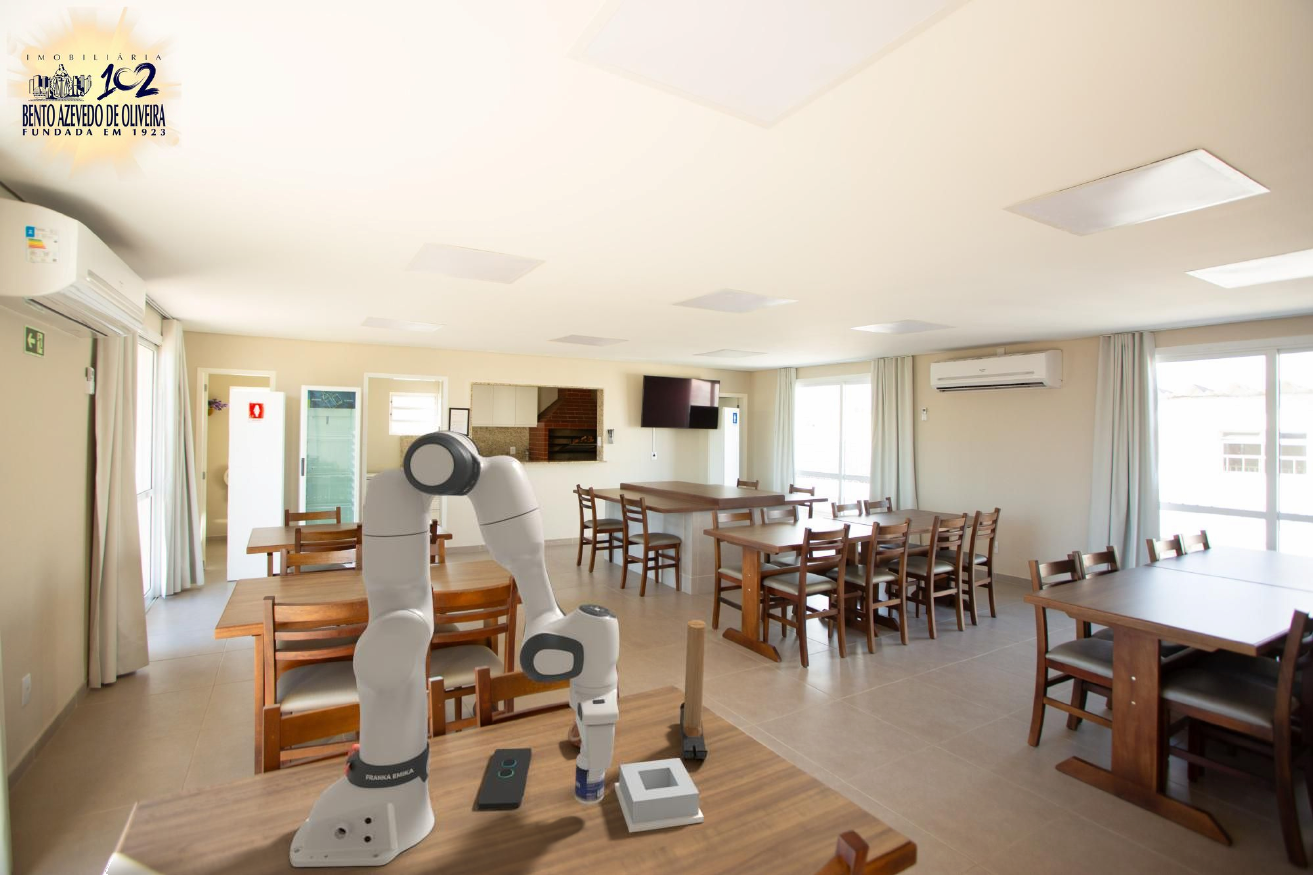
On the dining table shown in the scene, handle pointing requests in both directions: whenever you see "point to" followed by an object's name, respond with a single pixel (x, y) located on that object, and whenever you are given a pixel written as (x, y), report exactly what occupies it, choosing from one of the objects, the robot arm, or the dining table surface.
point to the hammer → (693, 693)
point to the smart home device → (505, 779)
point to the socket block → (657, 795)
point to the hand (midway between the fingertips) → (590, 768)
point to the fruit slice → (574, 735)
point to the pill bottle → (587, 782)
